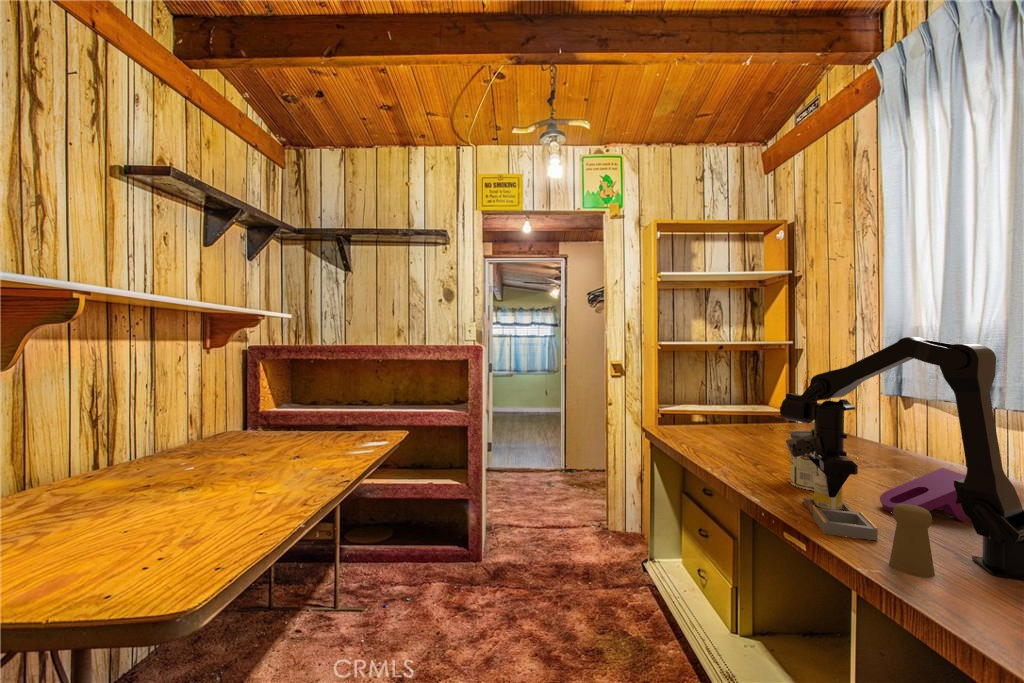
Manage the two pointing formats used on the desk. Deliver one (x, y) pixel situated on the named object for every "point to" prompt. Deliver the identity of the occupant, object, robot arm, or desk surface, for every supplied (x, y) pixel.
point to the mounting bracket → (928, 493)
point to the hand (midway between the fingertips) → (828, 493)
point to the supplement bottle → (825, 494)
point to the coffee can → (802, 467)
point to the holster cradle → (810, 505)
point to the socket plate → (845, 523)
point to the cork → (912, 541)
